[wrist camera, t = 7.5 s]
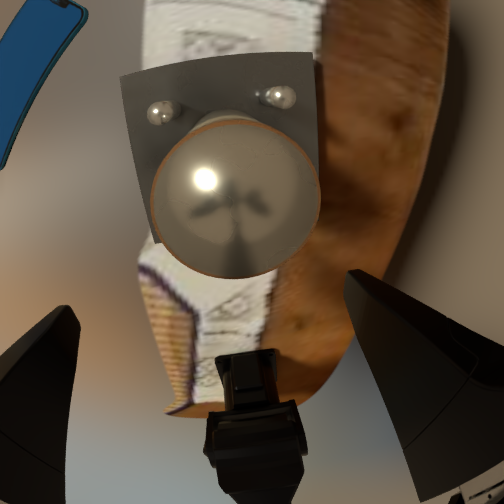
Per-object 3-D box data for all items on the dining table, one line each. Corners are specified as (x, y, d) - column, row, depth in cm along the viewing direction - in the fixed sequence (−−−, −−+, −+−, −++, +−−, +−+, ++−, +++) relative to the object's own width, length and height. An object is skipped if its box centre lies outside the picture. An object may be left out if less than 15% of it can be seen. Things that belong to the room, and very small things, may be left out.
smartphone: (-41, 137, 12) (38, -17, 7) (-35, 134, 13) (44, -15, 8) (-2, 177, 15) (90, 11, 11) (4, 173, 16) (96, 14, 11)
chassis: (313, 214, 21) (338, 248, 17) (157, 236, 21) (144, 276, 16) (306, 54, 15) (337, 43, 11) (125, 77, 14) (94, 73, 10)
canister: (270, 180, 18) (319, 267, 10) (192, 191, 18) (172, 288, 10) (263, 103, 16) (318, 114, 7) (179, 114, 15) (133, 139, 7)
